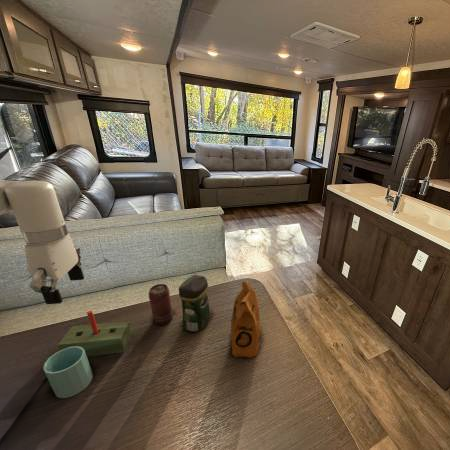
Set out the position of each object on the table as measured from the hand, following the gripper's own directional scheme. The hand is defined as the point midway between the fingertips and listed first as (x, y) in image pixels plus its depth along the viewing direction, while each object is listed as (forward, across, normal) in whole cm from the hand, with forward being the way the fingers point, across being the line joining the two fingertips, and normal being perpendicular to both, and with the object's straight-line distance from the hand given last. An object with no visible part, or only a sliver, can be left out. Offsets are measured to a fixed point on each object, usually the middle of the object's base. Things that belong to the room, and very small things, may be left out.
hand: (66, 290), depth 66 cm
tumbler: (+24, +9, +1) cm, 26 cm away
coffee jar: (+24, -9, +30) cm, 39 cm away
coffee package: (+25, +3, +47) cm, 53 cm away
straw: (+24, -3, +2) cm, 24 cm away
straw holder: (+24, -3, +2) cm, 24 cm away
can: (+24, -12, +18) cm, 32 cm away
